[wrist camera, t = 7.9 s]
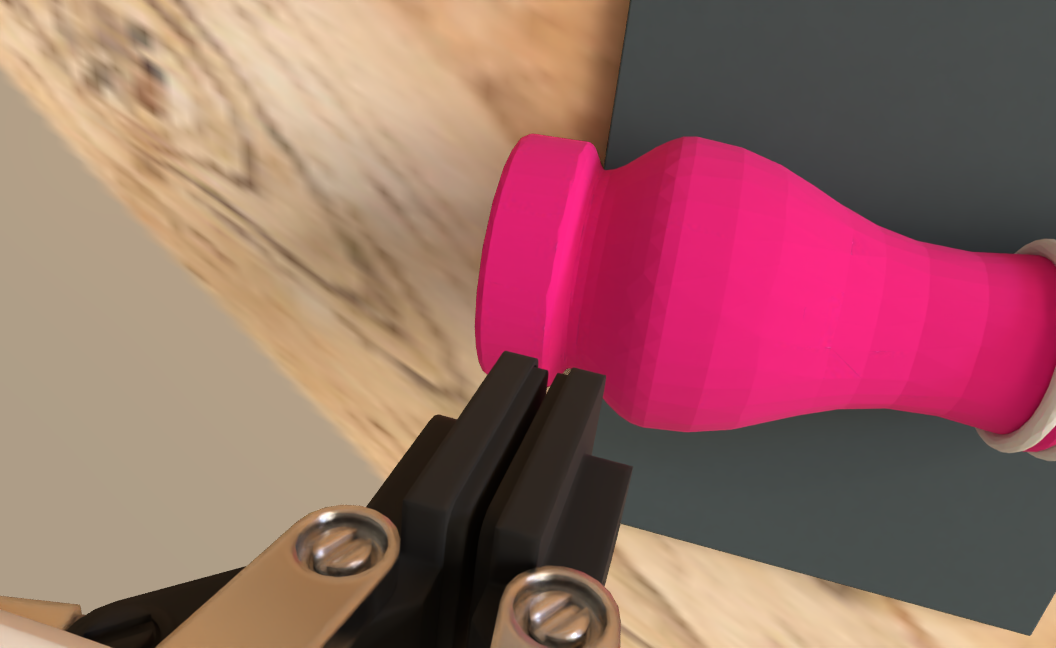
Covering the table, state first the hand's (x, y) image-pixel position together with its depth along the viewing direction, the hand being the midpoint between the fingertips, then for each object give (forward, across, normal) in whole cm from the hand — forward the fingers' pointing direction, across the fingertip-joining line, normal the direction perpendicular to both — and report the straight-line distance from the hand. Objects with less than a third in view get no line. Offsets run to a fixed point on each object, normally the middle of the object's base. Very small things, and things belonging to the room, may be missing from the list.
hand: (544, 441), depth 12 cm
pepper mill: (+8, +3, 0) cm, 8 cm away
